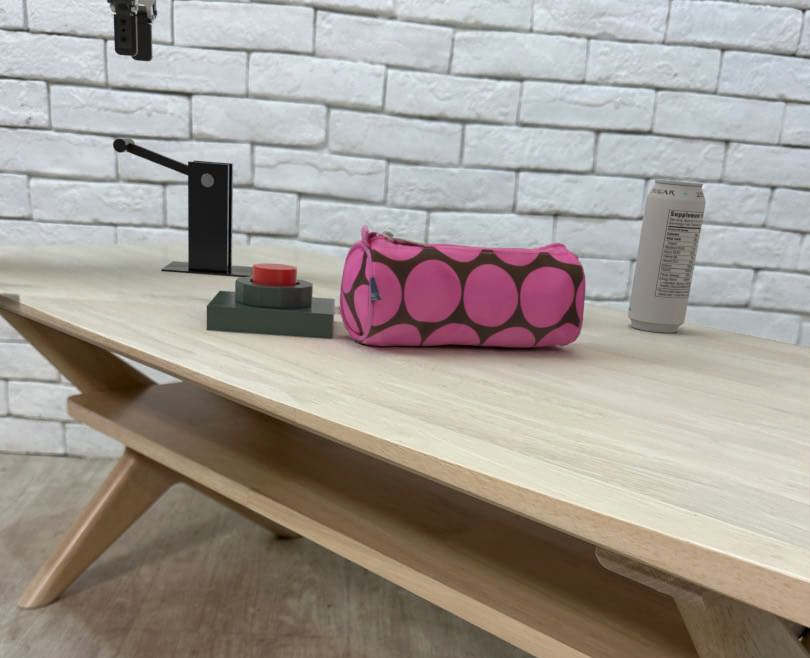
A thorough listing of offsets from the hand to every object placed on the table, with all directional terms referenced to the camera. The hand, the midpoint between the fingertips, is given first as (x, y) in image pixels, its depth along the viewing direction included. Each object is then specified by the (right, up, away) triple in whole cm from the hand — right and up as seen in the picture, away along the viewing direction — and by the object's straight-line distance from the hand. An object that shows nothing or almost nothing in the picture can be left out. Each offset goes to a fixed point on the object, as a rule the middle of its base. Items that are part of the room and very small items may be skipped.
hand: (134, 58), depth 107 cm
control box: (+17, -32, -15) cm, 39 cm away
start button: (+17, -29, -16) cm, 37 cm away
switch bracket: (+6, -21, +10) cm, 24 cm away
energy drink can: (+56, -29, +1) cm, 63 cm away
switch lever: (+2, -10, +6) cm, 12 cm away
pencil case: (+34, -34, -17) cm, 51 cm away
